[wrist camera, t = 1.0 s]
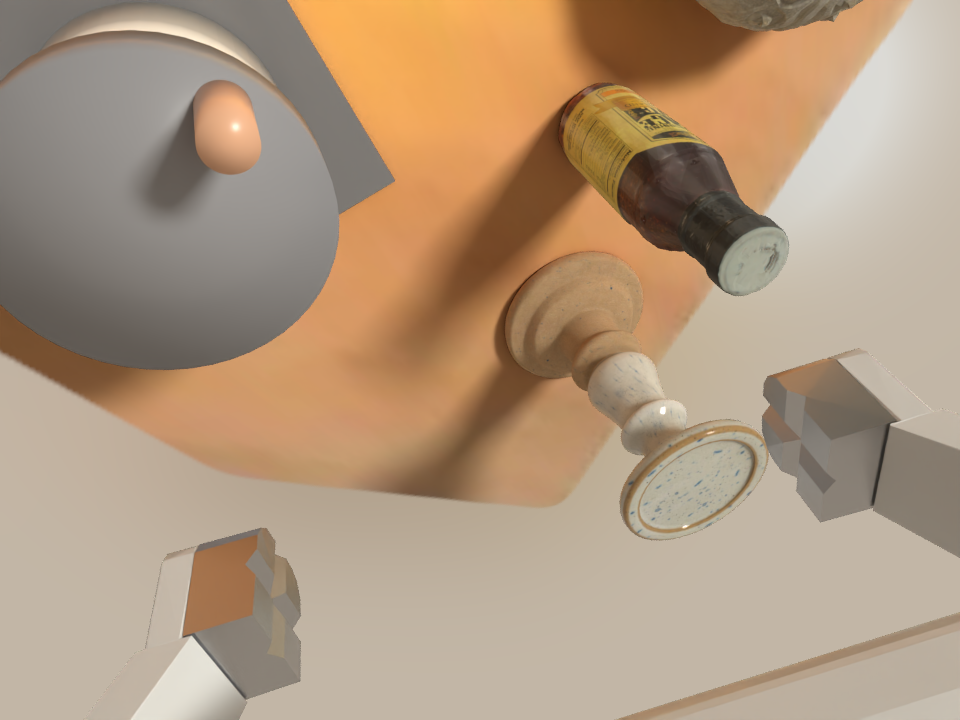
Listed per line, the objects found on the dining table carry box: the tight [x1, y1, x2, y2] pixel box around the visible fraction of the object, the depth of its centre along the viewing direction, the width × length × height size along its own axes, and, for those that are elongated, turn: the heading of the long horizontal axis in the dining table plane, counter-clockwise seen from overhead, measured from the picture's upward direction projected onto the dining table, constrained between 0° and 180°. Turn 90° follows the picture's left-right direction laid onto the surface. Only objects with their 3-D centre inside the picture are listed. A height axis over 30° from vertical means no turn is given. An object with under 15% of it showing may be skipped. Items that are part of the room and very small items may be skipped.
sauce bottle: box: [558, 83, 789, 296], centre depth 43 cm, size 6×6×20 cm
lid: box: [0, 30, 339, 370], centre depth 33 cm, size 16×16×7 cm
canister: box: [0, 0, 395, 214], centre depth 39 cm, size 20×20×9 cm
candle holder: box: [505, 251, 769, 540], centre depth 54 cm, size 12×12×20 cm
